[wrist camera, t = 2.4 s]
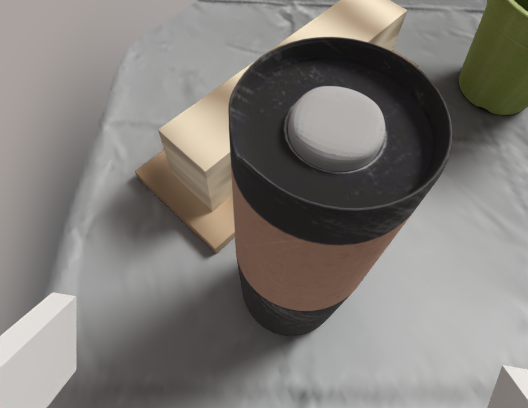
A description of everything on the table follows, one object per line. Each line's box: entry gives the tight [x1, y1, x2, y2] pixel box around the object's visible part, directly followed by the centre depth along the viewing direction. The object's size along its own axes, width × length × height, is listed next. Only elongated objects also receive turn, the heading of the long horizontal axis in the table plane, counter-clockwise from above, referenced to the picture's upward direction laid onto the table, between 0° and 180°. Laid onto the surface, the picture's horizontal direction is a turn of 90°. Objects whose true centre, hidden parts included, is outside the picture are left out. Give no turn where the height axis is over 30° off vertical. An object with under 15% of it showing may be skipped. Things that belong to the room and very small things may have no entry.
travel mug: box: [228, 37, 452, 336], centre depth 22 cm, size 8×8×20 cm
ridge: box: [135, 0, 419, 254], centre depth 36 cm, size 28×10×7 cm, turn 136°
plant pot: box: [459, 0, 528, 115], centre depth 37 cm, size 12×12×11 cm
